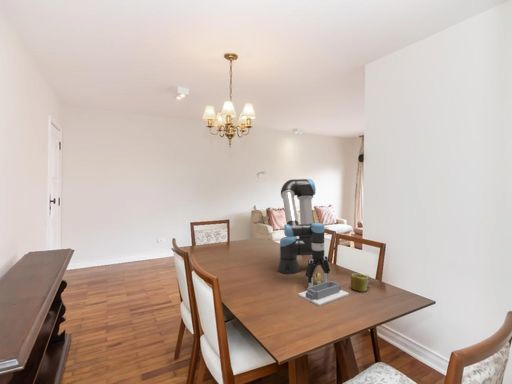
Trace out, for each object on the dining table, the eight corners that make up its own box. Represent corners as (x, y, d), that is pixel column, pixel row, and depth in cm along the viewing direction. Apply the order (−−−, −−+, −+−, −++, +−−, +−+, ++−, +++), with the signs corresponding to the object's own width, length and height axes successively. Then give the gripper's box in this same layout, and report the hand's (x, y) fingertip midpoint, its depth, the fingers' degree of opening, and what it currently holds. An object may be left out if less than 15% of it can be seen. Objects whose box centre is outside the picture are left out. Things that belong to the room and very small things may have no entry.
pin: (313, 285, 167) (313, 272, 166) (317, 284, 169) (317, 271, 168) (318, 287, 163) (318, 274, 163) (322, 286, 165) (322, 273, 165)
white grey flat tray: (298, 295, 153) (298, 286, 153) (327, 285, 166) (327, 277, 166) (319, 306, 140) (319, 296, 140) (349, 295, 153) (349, 286, 152)
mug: (357, 291, 153) (357, 272, 156) (346, 290, 162) (346, 272, 165) (376, 293, 155) (376, 274, 158) (365, 292, 165) (365, 274, 168)
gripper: (307, 254, 155) (308, 292, 156) (336, 247, 168) (336, 283, 169) (298, 251, 162) (299, 288, 163) (326, 245, 174) (326, 279, 175)
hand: (318, 285), depth 166 cm, fingers open, 11 cm apart
